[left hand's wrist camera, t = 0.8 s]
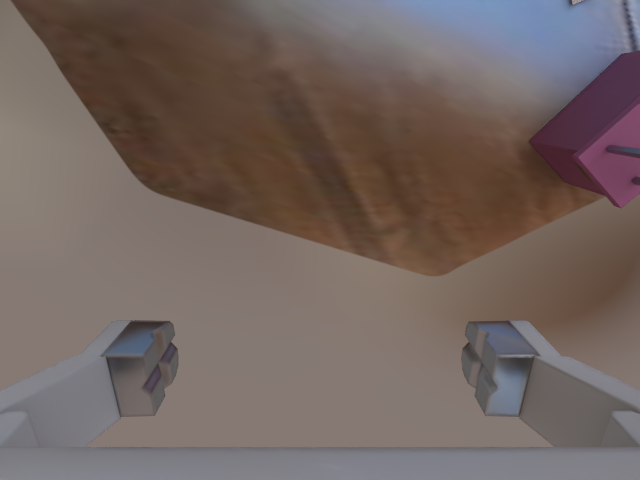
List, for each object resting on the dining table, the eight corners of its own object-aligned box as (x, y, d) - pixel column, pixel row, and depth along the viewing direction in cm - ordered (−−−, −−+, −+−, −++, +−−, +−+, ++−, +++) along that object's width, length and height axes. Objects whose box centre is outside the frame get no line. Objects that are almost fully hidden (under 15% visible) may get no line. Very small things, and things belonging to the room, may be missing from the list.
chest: (565, 182, 56) (619, 200, 46) (528, 141, 54) (577, 150, 43) (657, 101, 52) (740, 101, 42) (622, 53, 50) (699, 41, 39)
